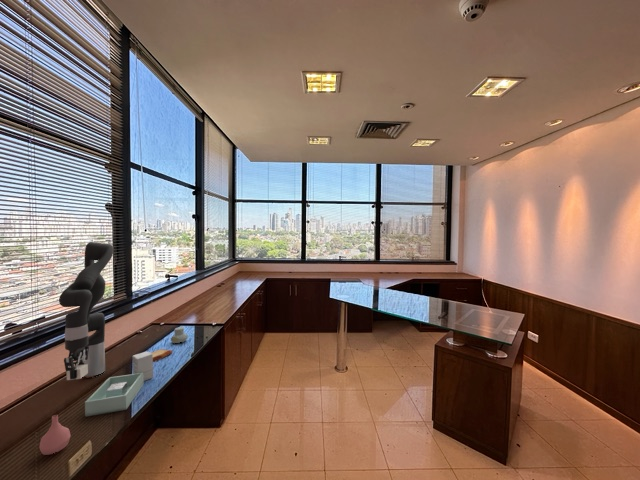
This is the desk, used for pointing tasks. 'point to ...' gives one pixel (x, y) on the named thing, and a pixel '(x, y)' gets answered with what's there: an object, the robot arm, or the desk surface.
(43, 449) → the pink vase
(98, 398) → the tote
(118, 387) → the tin block
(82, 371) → the cream box
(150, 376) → the supplement box
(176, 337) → the air freshener
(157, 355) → the slice of bread
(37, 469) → the desk surface
